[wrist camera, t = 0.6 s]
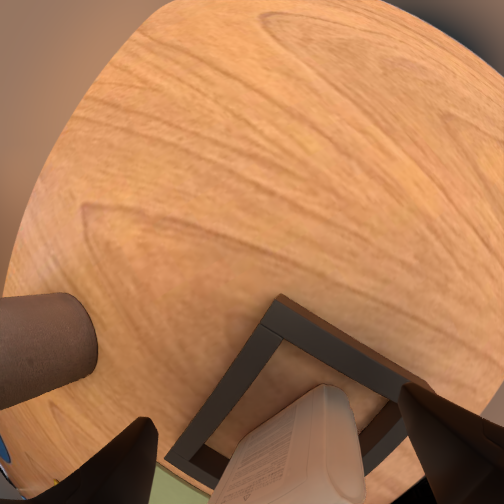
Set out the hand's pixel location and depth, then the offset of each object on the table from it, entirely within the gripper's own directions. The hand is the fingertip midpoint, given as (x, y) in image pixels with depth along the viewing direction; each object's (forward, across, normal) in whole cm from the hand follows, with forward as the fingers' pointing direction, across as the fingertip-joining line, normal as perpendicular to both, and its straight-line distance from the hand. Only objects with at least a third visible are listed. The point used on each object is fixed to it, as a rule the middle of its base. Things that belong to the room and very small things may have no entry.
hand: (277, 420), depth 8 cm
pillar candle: (+15, +21, +5) cm, 27 cm away
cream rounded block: (+9, -1, +11) cm, 14 cm away
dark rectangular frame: (+8, -1, +11) cm, 14 cm away
